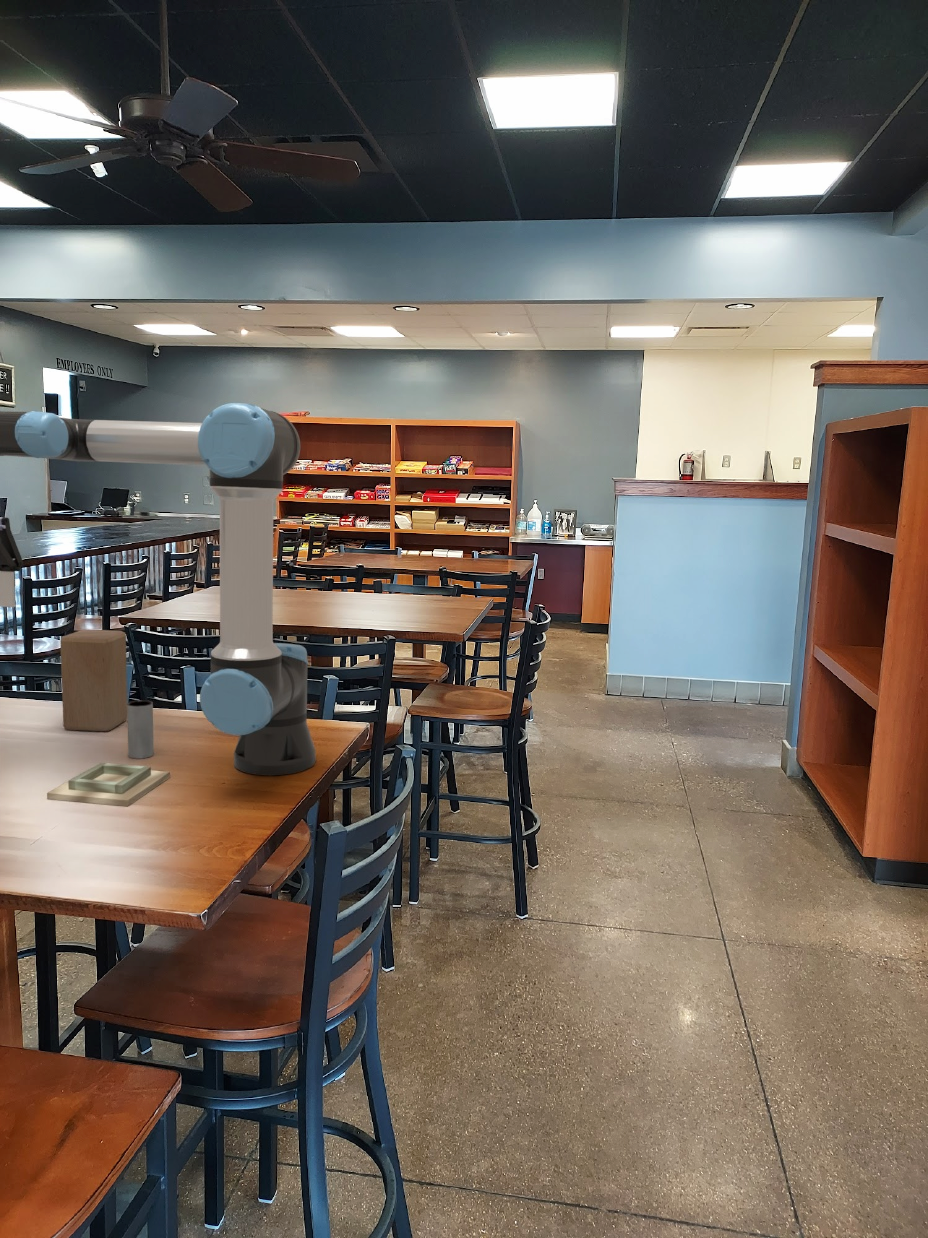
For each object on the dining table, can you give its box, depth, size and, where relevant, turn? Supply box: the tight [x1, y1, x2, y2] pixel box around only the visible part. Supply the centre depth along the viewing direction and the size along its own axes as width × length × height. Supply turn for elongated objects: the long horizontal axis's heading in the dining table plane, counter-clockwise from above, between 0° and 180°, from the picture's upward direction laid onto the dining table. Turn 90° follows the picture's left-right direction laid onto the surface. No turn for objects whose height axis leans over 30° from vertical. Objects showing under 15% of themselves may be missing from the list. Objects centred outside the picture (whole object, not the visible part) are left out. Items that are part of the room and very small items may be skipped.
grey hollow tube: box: [126, 699, 155, 760], centre depth 155 cm, size 4×4×10 cm
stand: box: [46, 762, 171, 807], centre depth 138 cm, size 14×14×2 cm
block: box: [60, 628, 128, 732], centre depth 172 cm, size 10×10×20 cm
